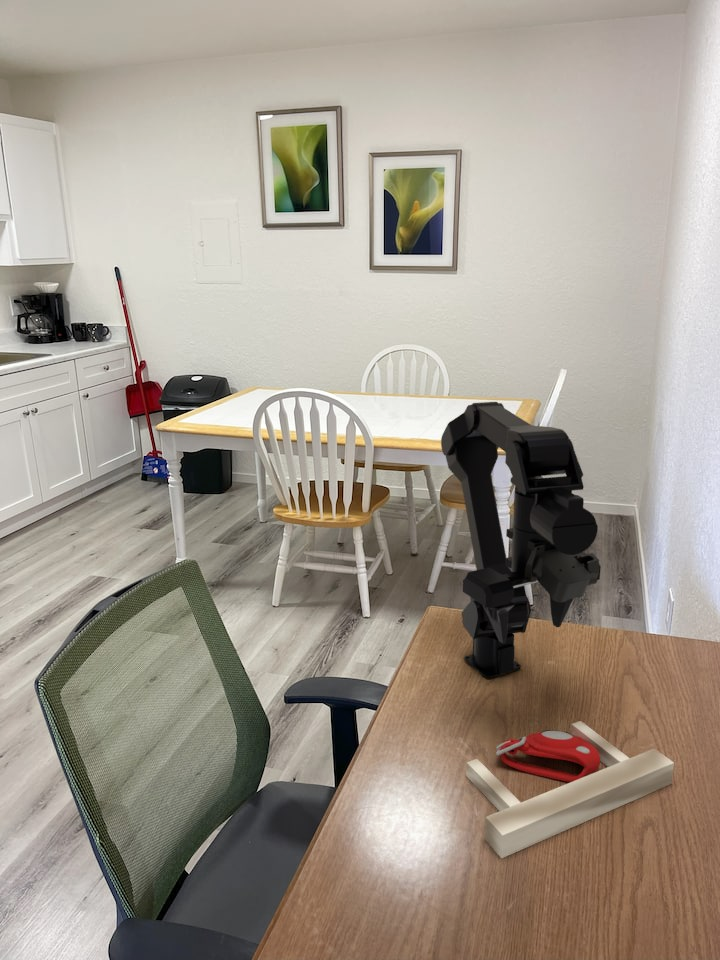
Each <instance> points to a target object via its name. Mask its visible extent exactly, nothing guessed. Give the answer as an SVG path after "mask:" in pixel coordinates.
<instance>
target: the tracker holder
mask: <svg viewBox="0 0 720 960" xmlns="http://www.w3.org/2000/svg"><path fill="white" fill-rule="evenodd" d="M496 750H497V751H496V752H495V754H496V756H500V758H501V761H502V762H503V763H504V764H505V765H507V766H509V767H511V768H514V769H515V770H516V769H517V770H518V771H522V772H524V773H525V772H526V773H529V774H531V775H537V776H541V777H545V778H550V779H553V780H559V781H562V782H567V783H570V782H573V781H575V780H578V779H580V778H583V777H585V776H588V775H590V774H593V773H595V772H597V771H599V770H598V769H599V767H600V765H601V761H600V756H599V752H598V750H597V749H596V748H595V747H594V746H593V745H591V744H590V743H589V742H587V741H586V740H584V739H582V738H580V737H577V736H574V735H572V734H571V732H570V733H569V732H567V731H564V730H563V731H562V730H557V729H556V730H555V729H549V730H548V729H547V730H541V731H539V732H535V733H531V734H528V735H527V736H522V737H520V738H518V739H516V738H509V739H507V740H504V741H503V742H502V743H499V745H497V746H496ZM518 752H520V753H522V754H525V755H529V756H533V757H534V756H535V757H539V758H547V759H548V758H549V759H553V760H554V759H555V760H563V761H569V762H573V763H575V764H578V765H581V766H582V767H583V769H582V771H581V772H580V773H579V774H577V773H573V772H568V771H564V770H559V769H555V768H550V767H546V766H541V765H537V764H536V765H535V764H532V763H528V762H522V761H520V760H517V759H514V758H512V757H510V756H509V755H511V756H514V755H516V756H517V754H518ZM507 753H508V754H509V755H507Z"/></svg>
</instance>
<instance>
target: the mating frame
mask: <svg viewBox="0 0 720 960" xmlns="http://www.w3.org/2000/svg"><path fill="white" fill-rule="evenodd" d="M570 734H572V735H574V736H577V737H580V738H582V739H584V740H586V741H587V742H589V743H590V744H591V745H593V746H594V747H595V748H596V749H597V750H598V752H599V756H600V763H602V764H604V765H605V766H607V767H605V768H603V769H600V770H597V772H595V773H593V774H590V775H588V776H585V777H583V778H580V779H578V780H575V781H573V782H567V783H566V784H562V785H561V786H559V787H556V788H553V789H551V790H549V791H548V790H547V792H544V793H541V794H538V795H536V796H534V797H531V798H529V799H527V800H524V801H520V800H519V799H518V798H517V797H516V796H515V795H514V793H512V792H511V791H510V790H509V789H508V787H506V786H505V785H504V784H503V783H502V782H501V781H500V780H499V779H498V778H497V777H496V776H495V775H494V774H493V773H492V772H491V771H490V770H489V769H488V768H487V767H486V766H485V765H484V764H483V763H482V762H481V761H480V760H479V759H478V758H475V759H472V760H470V761H467V762H466V771H465V773H466V777H467V778H468V780H469V781H470V782H471V783H472V784H473V785H474V786H475V787H476V788H477V790H479V791H480V793H482V794H483V795H484V797H486V798H487V800H488V801H489V802H490V803H491V804H492V805H493V806H494V807H495V808H496V810H498V812H497V811H496V812H494V813H492V814H489V815H488V816H485V823H484V824H485V826H484V827H485V828H484V841H486V843H487V844H488V845H489V846H490V847H491V848H492V849H493V851H494V852H495V853H496V854H497V855H498V857H499V858H500V859H504V858H506V857H508V856H511V855H513V854H515V853H517V852H519V851H522V850H524V849H526V848H529V847H531V846H533V845H536V844H538V843H539V842H542V841H544V840H547V839H550V838H552V837H554V836H556V835H558V834H561V833H563V832H565V831H567V830H569V829H572V828H574V827H576V826H579V825H581V824H583V823H585V822H588V821H590V820H593V819H595V818H597V817H600V816H603V815H604V814H605V813H608V812H610V811H613V810H615V809H617V808H619V807H622V806H625V805H626V804H629V803H631V802H633V801H636V800H638V799H640V798H642V797H645V796H647V795H650V794H651V793H654V792H655V791H659V790H660V789H663V788H665V787H668V786H670V785H672V781H673V775H674V766H675V762H674V761H673V760H672V759H670V758H668V757H667V756H665V755H664V754H663V753H661V752H660V751H658V750H657V749H656V748H652V749H649V750H646V751H645V752H642V753H639V754H637V755H635V756H634V755H633V756H632V757H629V756H628V755H626V754H625V753H623V752H622V751H621V750H619V749H618V748H617V747H615V746H614V745H613V744H612V743H610V742H609V741H607V740H606V739H605V738H604V737H602V736H601V735H600V734H599V733H597V732H596V731H595V730H594V729H592V728H590V727H589V726H588V725H587V724H586V723H584V722H582V721H581V720H580V721H576V722H574V723H572V724H571V730H570Z"/></svg>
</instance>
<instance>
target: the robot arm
mask: <svg viewBox="0 0 720 960" xmlns="http://www.w3.org/2000/svg"><path fill="white" fill-rule="evenodd" d="M440 442H441V443H440V445H441V447H440V448H441V450H442V454H443V455H444V456H445V458H446V460H445V461H446V463H447V468H448V469H449V471H450V472H451V473H452V474H453V475H454V477H456V478H457V480H459V482H460V483H461V489H462V493H463V495H462V496H463V499H464V501H463V502H464V505H465V506H464V507H465V511H466V516H467V522H468V523H467V524H468V528H469V533H470V540H471V546H472V551H473V557H474V563H475V568H476V569H475V570H472V571H468V572H467V573H466V574H465V575H464V576H463V578H462V592H463V593H465V595H467V596H468V597H470V599H469V600H470V601H469V603H468V604H467V605H466V606H465V607H464V609H463V610H462V611H461V619H462V621H461V622H462V626H463V628H464V629H465V631H467V632H468V634H469V636H470V637H471V638H472V654H469V655H465V656H464V661H465V662H466V663H467V665H469V666H471V668H473V669H474V670H475V671H476V672H478V673H479V674H480V675H482V676H483V677H484V678H485V679H487V680H489V679H493V678H496V677H499V676H502V675H503V676H504V675H506V674H509V673H512V672H515V671H518V670H521V668H522V665H521V664H520V663H519V662H517V660H515V650H516V647H515V634H519V633H522V634H524V633H526V630H527V627H528V623H529V619H530V616H531V612H532V608H531V604H530V600H529V598H528V596H527V593H526V587H525V586H528V585H532V584H536V583H539V584H540V586H542V587H543V589H544V590H545V591H546V592H547V593H548V596H549V603H550V606H549V607H550V615H551V622H552V625H553V626H554V627H555V628H561V625H562V624H563V622H564V619H565V618H566V615H567V613H568V611H569V609H570V608H571V605H572V603H573V601H574V599H575V598H578V599H580V598H582V597H584V594H585V593H586V590H587V588H588V587H591V586H593V585H595V584H597V582H598V581H599V580H600V578H601V568H602V566H601V564H600V559H599V558H598V557H597V556H596V555H595V554H594V553H592V552H590V553H587V552H585V551H586V550H588V549H589V548H590V547H591V546H592V545H593V543H594V541H595V540H596V538H597V534H598V531H599V530H598V529H599V528H598V523H597V520H596V517H595V516H594V514H593V513H591V511H589V510H588V509H587V508H585V507H584V497H582V496H581V495H578V494H574V493H573V491H582V490H584V487H585V486H584V483H583V479H582V478H583V476H584V473H583V470H582V467H581V465H580V462H579V460H578V459H579V458H578V457H577V455H576V451H575V449H574V447H575V446H574V445H573V441H572V440H571V439H570V437H569V435H568V434H567V432H566V431H564V429H561V428H557V427H553V426H539V425H533V424H530V423H528V421H526V420H524V419H522V418H520V416H517V415H516V414H514V413H513V412H511V411H509V410H508V409H506V408H505V407H504V405H503V403H502V402H498V401H483V402H482V401H481V402H473V403H471V404H468V405H467V406H466V408H465V410H464V412H463V413H461V414H459V415H458V416H457V417H455V418H454V419H452V420H451V421H449V422H448V423H447V425H446V427H445V429H444V431H443V433H442V434H441V438H440ZM498 449H501V450H502V451H503V452H504V453H505V461H504V463H505V465H506V466H507V467H508V469H509V471H510V474H511V475H512V477H511V478H510V483H511V484H513V485H514V495H513V496H514V497H513V499H514V500H513V515H512V517H513V519H512V520H513V522H512V527H511V528H506V533H505V534H506V538H509V539H510V540H511V542H512V543H511V544H512V545H511V556H510V557H509V556H508V557H507V554H506V553H507V552H506V548H505V543H504V538H503V533H502V527H501V521H500V517H499V516H500V515H499V511H498V510H499V509H498V506H497V505H498V504H497V501H496V500H497V499H496V496H495V490H494V485H493V484H494V483H493V478H492V473H493V471H494V468H495V466H496V464H497V461H498V458H499V453H498ZM555 475H556V476H555ZM557 475H561V476H557ZM562 475H563V476H562ZM543 476H544V477H543ZM545 476H551V477H545ZM552 476H554V477H552Z"/></svg>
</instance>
